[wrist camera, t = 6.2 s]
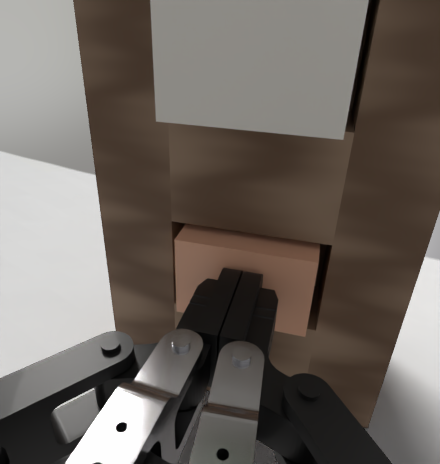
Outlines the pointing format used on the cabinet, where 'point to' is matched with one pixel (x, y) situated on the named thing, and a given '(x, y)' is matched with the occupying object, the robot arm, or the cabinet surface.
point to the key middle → (257, 63)
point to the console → (275, 189)
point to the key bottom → (250, 268)
